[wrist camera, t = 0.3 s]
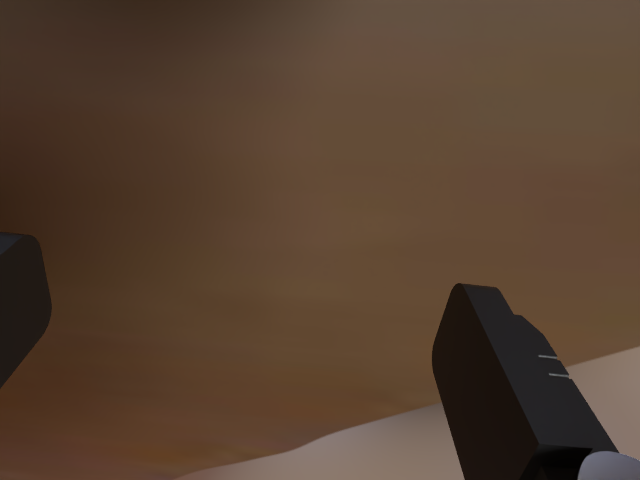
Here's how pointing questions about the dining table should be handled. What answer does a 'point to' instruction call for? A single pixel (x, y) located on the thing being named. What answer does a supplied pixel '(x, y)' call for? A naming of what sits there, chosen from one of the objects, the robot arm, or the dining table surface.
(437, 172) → the dining table surface
